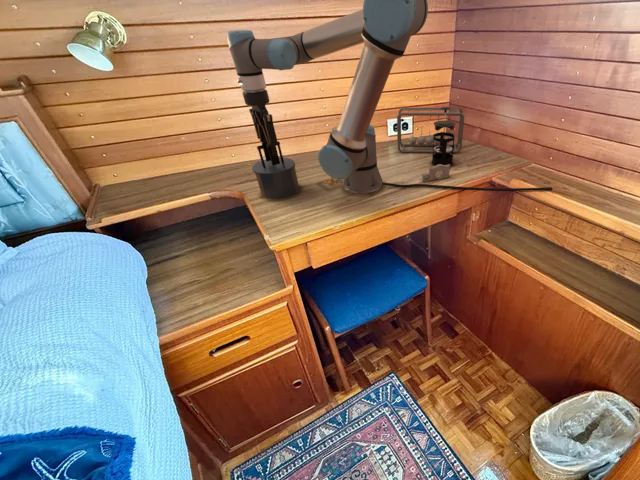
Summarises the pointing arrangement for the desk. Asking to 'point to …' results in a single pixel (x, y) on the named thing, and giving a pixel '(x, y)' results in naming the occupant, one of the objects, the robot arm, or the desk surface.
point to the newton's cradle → (429, 139)
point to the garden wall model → (433, 170)
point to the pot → (278, 184)
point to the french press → (443, 142)
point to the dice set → (331, 181)
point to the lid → (267, 167)
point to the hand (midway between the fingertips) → (273, 162)
